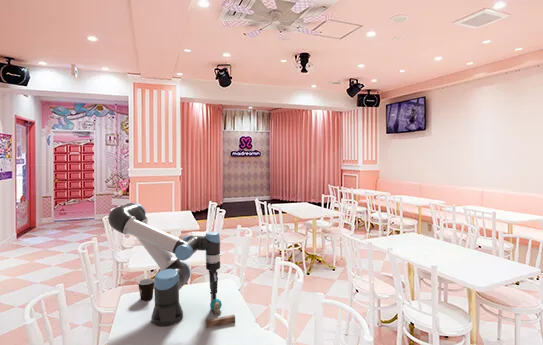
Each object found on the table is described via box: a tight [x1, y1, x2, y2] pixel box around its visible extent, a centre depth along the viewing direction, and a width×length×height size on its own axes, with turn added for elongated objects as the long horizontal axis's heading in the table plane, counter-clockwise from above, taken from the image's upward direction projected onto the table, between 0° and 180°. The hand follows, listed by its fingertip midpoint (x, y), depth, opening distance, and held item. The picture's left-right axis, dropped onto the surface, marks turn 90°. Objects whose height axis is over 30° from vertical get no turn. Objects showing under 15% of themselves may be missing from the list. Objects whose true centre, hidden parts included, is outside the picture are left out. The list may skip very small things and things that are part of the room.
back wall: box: [205, 314, 236, 329], centre depth 155 cm, size 14×2×3 cm, turn 111°
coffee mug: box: [137, 278, 154, 302], centre depth 181 cm, size 12×9×10 cm
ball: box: [209, 298, 222, 312], centre depth 169 cm, size 6×6×6 cm
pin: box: [213, 302, 220, 315], centre depth 163 cm, size 2×2×8 cm
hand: (213, 303), depth 172 cm, fingers closed
